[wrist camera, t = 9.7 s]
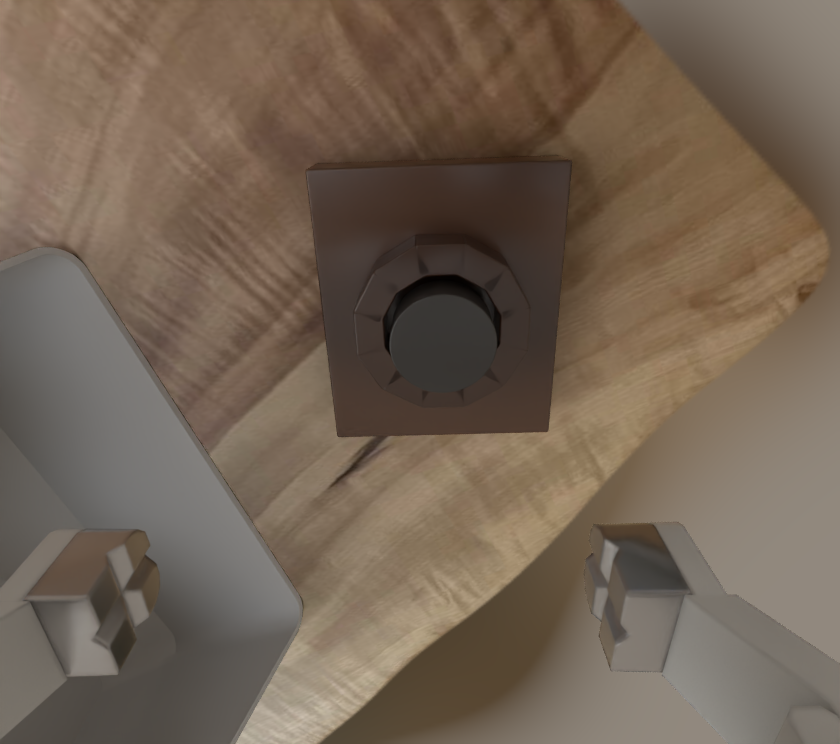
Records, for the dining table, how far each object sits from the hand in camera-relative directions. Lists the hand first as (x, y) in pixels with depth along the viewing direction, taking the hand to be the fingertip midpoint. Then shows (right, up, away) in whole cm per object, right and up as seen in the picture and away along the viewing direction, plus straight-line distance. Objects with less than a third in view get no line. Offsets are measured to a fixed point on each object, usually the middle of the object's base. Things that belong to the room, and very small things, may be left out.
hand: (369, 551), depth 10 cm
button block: (+2, +7, +15) cm, 16 cm away
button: (+2, +5, +11) cm, 13 cm away
